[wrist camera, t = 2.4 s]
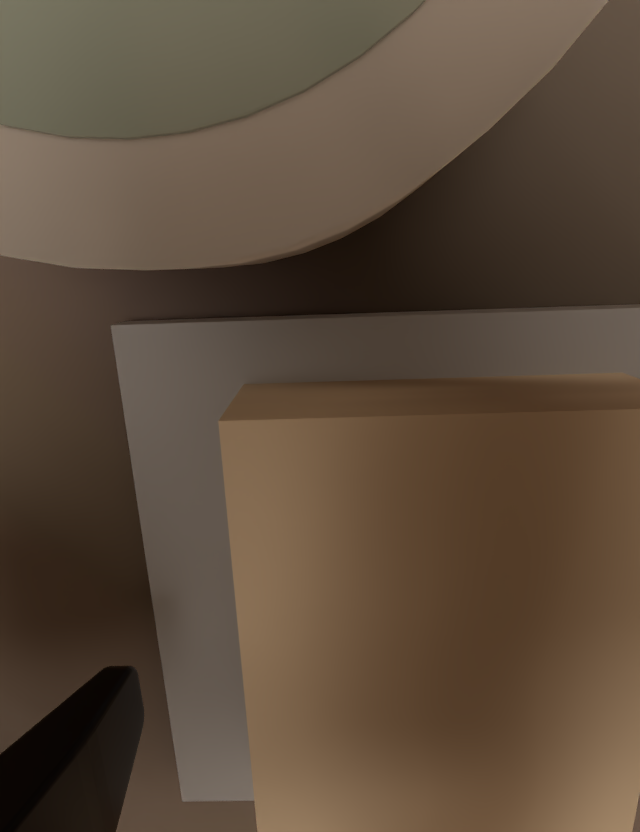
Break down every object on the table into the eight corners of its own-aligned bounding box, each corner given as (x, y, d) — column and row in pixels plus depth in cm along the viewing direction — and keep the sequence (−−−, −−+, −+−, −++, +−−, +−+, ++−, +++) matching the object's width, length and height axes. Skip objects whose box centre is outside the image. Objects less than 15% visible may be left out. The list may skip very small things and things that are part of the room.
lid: (273, 764, 10) (261, 876, 9) (243, 384, 8) (217, 420, 6) (568, 760, 10) (623, 872, 8) (623, 372, 8) (715, 406, 6)
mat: (189, 774, 11) (182, 801, 11) (125, 321, 8) (110, 325, 8) (644, 768, 11) (661, 795, 11) (734, 300, 8) (765, 303, 8)
